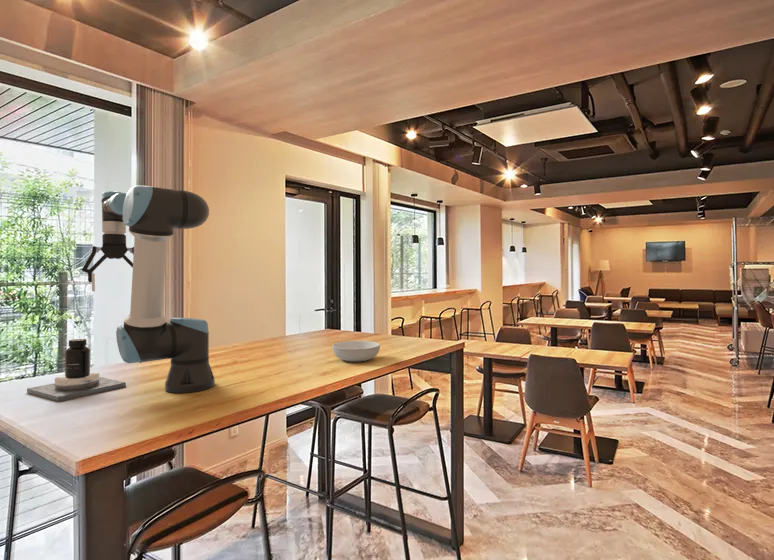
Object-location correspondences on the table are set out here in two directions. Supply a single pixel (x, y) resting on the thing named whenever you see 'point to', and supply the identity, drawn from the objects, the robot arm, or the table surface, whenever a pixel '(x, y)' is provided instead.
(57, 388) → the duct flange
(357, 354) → the serving bowl
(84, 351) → the supplement bottle
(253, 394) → the table surface
